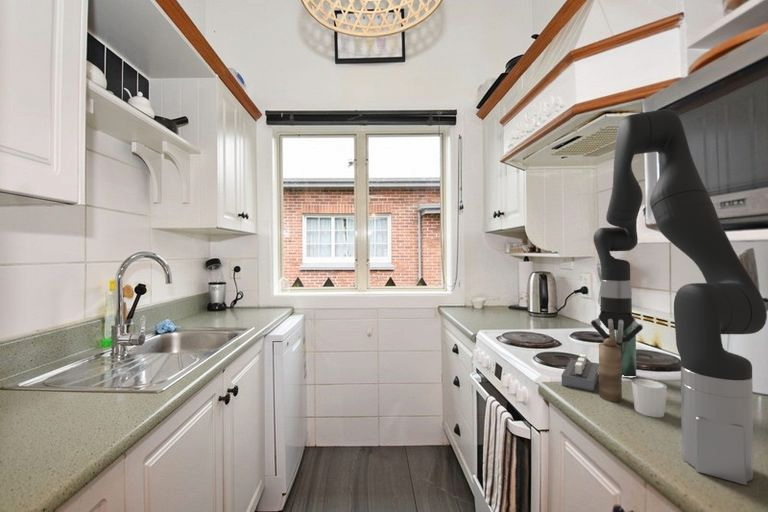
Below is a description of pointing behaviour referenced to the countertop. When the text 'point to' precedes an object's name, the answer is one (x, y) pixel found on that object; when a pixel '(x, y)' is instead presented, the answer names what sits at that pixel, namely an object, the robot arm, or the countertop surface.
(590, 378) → the switch box
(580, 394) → the countertop surface
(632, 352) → the green tin
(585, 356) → the far paddle
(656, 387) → the white cup
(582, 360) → the middle paddle
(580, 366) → the near paddle
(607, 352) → the pepper mill
